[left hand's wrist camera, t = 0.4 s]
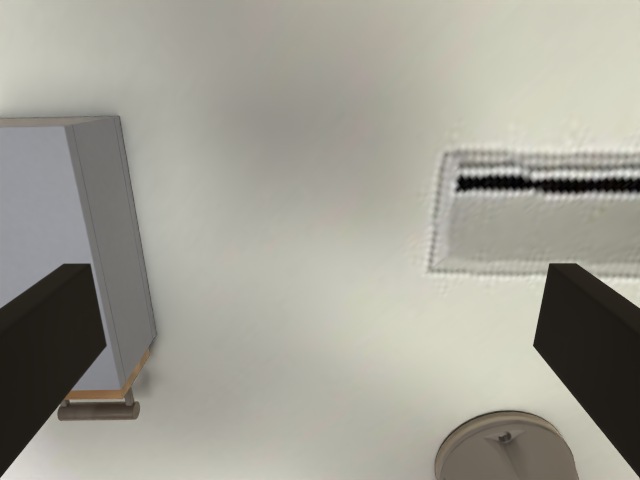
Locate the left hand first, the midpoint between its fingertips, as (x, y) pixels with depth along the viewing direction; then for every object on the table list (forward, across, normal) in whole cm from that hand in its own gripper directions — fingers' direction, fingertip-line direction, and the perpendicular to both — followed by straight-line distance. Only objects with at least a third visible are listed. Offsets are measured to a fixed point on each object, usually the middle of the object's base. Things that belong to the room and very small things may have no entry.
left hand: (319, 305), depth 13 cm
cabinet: (+28, -22, -8) cm, 36 cm away
